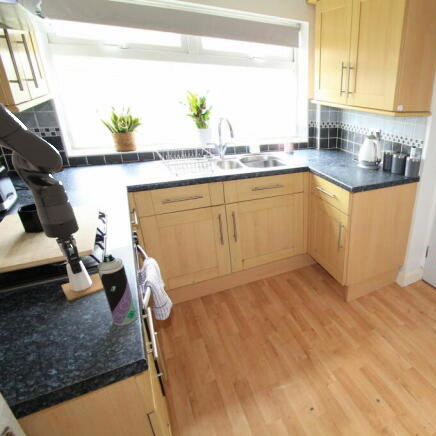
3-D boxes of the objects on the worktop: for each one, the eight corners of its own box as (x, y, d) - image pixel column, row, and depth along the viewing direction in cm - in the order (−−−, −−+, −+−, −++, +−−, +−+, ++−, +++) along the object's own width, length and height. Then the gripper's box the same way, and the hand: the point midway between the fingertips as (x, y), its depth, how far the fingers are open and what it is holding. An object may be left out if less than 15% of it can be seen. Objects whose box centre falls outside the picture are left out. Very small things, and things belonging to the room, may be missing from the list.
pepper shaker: (66, 291, 96) (54, 260, 91) (79, 281, 100) (68, 250, 96) (84, 291, 96) (73, 260, 91) (96, 281, 101) (86, 251, 96)
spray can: (121, 328, 83) (101, 263, 75) (109, 321, 86) (89, 257, 78) (141, 316, 88) (125, 253, 80) (129, 309, 90) (112, 247, 82)
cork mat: (61, 304, 91) (60, 302, 91) (54, 289, 97) (54, 287, 97) (109, 286, 99) (108, 285, 99) (100, 273, 105) (100, 272, 105)
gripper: (36, 213, 90) (55, 265, 97) (44, 229, 82) (65, 285, 89) (68, 207, 95) (85, 256, 102) (80, 221, 87) (97, 274, 94)
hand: (75, 269), depth 95 cm, fingers closed on pepper shaker, 4 cm apart
